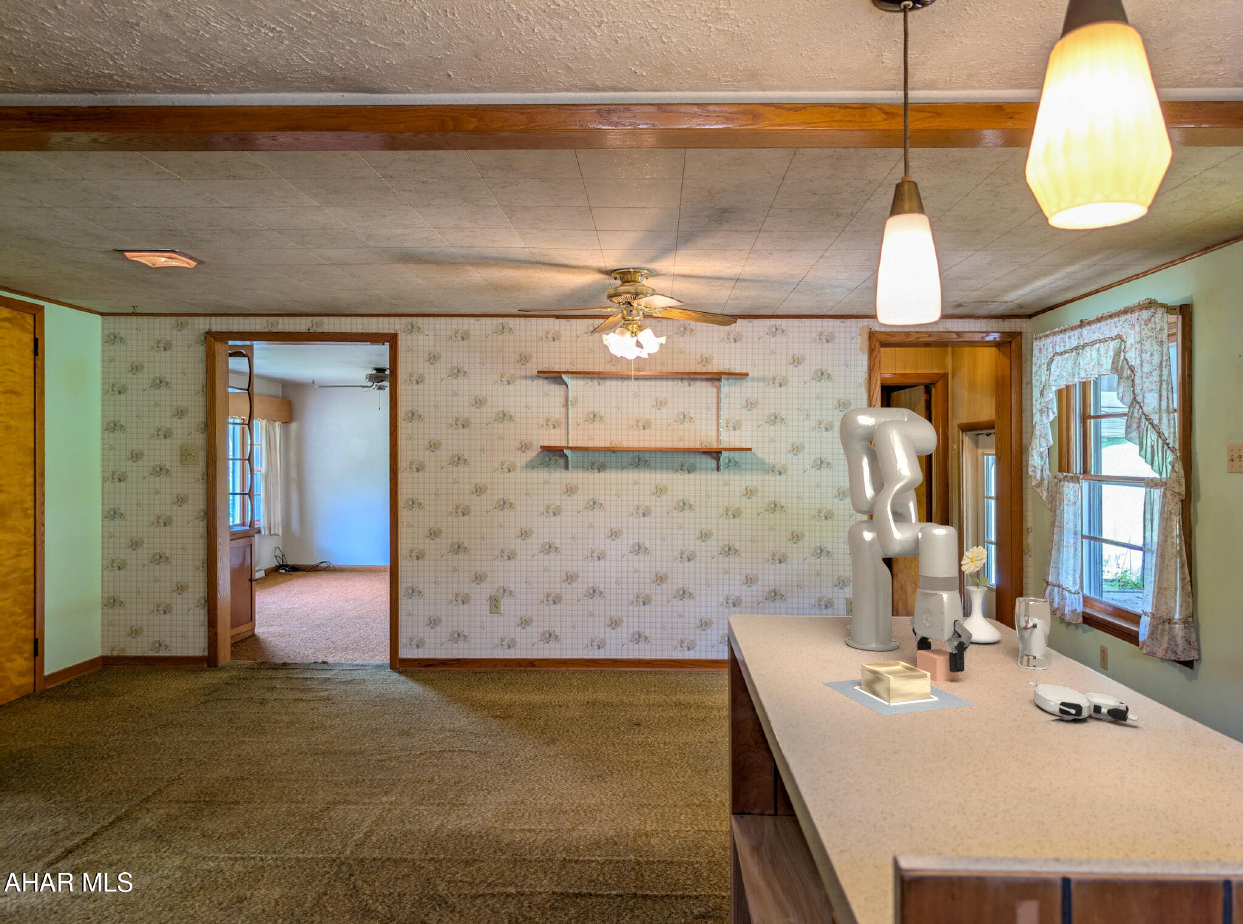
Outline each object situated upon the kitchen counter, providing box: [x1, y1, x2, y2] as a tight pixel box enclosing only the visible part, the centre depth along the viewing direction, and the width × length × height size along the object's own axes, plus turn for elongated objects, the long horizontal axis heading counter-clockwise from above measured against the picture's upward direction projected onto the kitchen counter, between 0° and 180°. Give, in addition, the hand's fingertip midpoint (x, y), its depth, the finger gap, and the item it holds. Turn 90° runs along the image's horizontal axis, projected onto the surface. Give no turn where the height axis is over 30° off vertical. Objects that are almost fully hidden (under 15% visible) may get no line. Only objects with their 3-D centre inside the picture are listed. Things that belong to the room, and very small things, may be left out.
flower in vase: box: [960, 545, 1003, 644], centre depth 186 cm, size 13×11×25 cm
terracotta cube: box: [916, 648, 962, 683], centre depth 153 cm, size 6×6×6 cm
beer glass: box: [1014, 596, 1052, 671], centre depth 163 cm, size 7×7×15 cm
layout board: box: [822, 678, 976, 717], centre depth 141 cm, size 20×20×1 cm
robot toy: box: [1028, 681, 1140, 723], centre depth 131 cm, size 12×4×15 cm
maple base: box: [860, 660, 931, 703], centre depth 141 cm, size 9×9×5 cm
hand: (940, 665), depth 152 cm, fingers open, 9 cm apart
